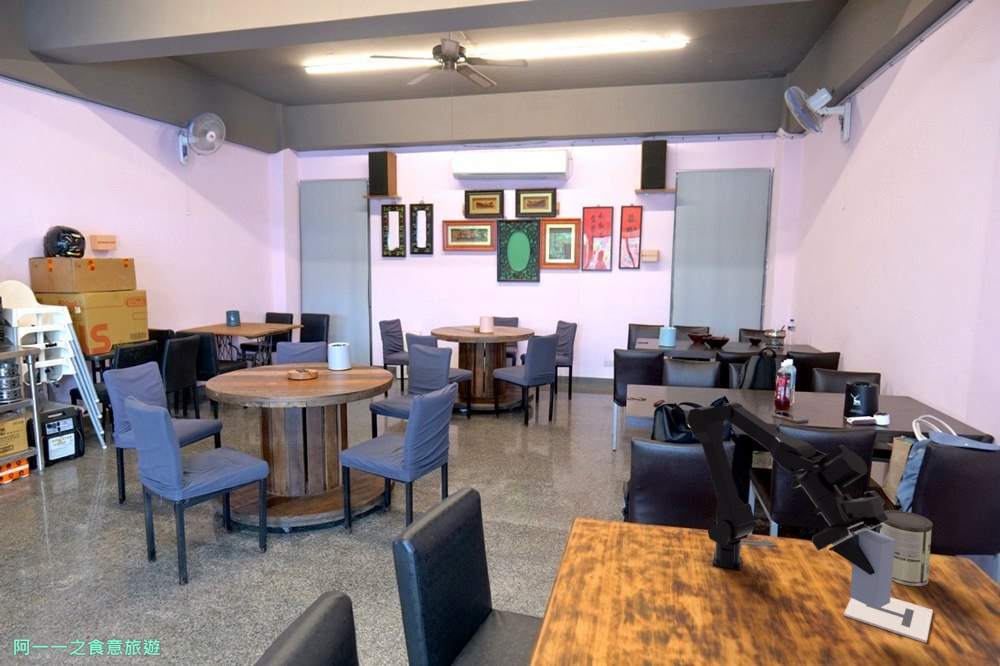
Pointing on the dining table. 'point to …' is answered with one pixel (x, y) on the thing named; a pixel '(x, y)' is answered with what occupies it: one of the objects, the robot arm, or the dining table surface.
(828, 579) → the dining table surface
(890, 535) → the coffee can
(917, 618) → the letter tile
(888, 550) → the slate blue block
